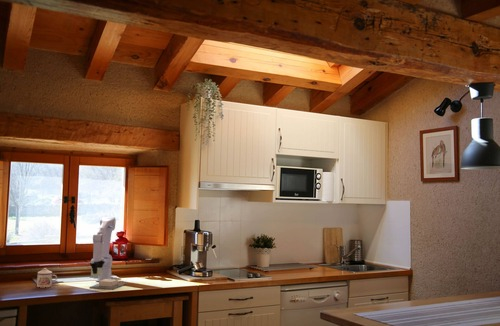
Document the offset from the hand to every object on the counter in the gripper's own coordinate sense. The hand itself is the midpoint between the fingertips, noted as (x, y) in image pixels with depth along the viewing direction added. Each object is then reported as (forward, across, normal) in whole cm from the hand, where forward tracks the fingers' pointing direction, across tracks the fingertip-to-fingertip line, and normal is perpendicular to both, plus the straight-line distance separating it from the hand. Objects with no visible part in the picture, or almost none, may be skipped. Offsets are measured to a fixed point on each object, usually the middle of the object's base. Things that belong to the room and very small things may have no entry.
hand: (96, 273), depth 326 cm
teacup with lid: (+9, +13, -28) cm, 32 cm away
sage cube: (+2, 0, 0) cm, 2 cm away
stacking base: (+8, -2, +8) cm, 11 cm away
